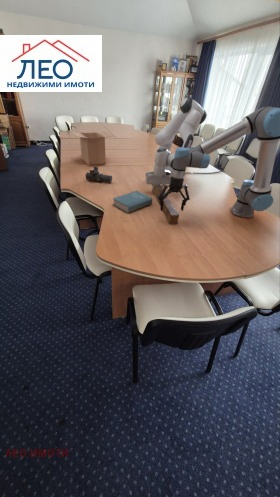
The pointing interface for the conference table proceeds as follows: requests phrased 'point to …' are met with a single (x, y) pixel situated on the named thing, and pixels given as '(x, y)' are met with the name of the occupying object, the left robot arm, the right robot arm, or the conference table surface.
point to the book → (132, 201)
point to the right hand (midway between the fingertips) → (171, 210)
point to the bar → (167, 206)
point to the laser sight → (98, 176)
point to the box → (92, 146)
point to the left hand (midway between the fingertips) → (157, 189)
